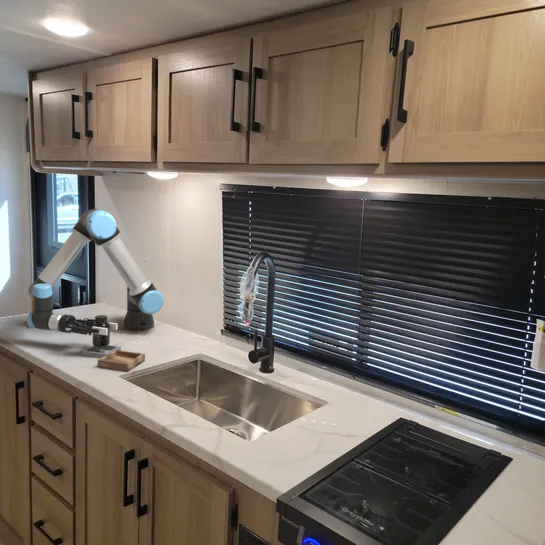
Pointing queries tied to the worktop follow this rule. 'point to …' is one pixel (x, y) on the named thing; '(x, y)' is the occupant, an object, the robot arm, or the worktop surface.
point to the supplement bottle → (97, 338)
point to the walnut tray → (121, 360)
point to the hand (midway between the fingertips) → (111, 329)
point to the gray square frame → (90, 353)
